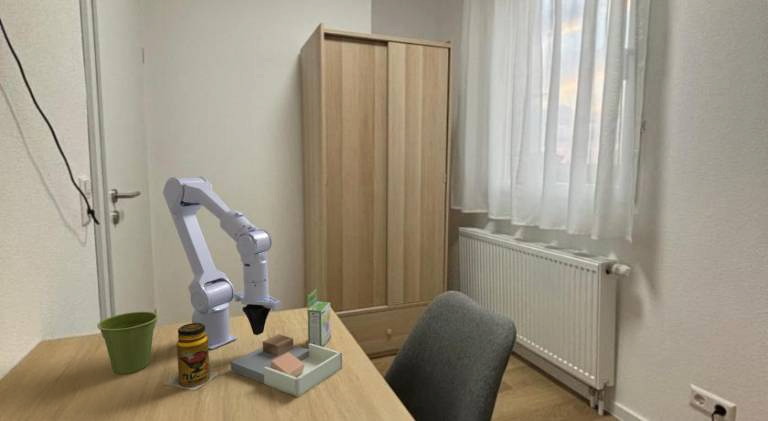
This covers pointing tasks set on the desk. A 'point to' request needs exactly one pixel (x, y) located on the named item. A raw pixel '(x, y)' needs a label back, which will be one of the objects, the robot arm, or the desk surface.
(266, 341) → the walnut tile
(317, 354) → the tray
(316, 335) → the ink box
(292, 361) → the terracotta tile
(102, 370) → the desk surface
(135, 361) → the plant pot
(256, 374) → the slate board
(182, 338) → the condiment
